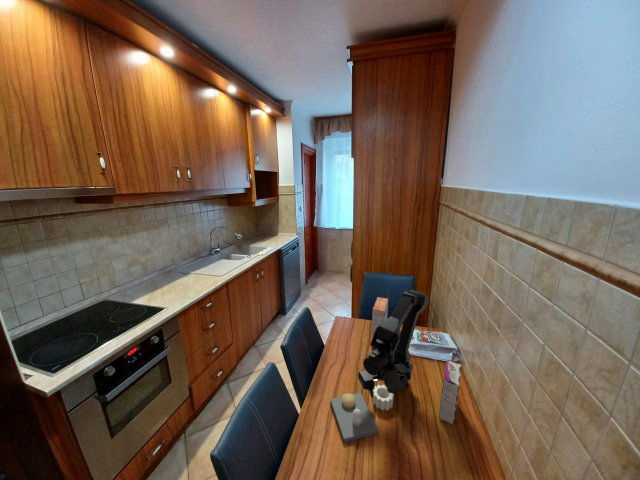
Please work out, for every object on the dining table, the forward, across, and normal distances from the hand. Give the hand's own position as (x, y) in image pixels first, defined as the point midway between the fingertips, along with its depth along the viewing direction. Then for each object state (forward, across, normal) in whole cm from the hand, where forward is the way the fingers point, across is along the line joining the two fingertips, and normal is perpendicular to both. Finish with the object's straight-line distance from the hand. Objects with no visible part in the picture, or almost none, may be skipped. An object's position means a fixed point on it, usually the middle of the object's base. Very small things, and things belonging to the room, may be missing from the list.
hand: (383, 394), depth 92 cm
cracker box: (+3, +16, +34) cm, 38 cm away
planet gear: (+3, 0, 0) cm, 3 cm away
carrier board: (+3, -13, -3) cm, 14 cm away
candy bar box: (+3, +21, -9) cm, 23 cm away
